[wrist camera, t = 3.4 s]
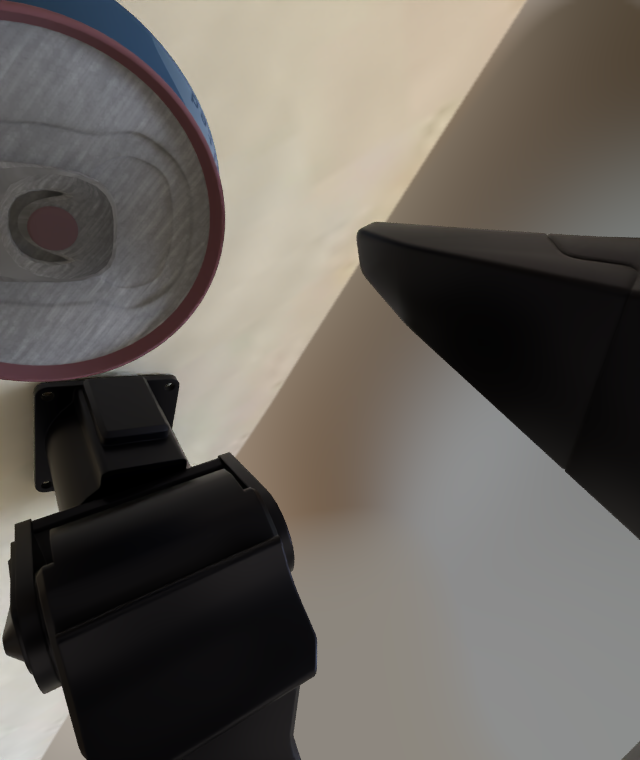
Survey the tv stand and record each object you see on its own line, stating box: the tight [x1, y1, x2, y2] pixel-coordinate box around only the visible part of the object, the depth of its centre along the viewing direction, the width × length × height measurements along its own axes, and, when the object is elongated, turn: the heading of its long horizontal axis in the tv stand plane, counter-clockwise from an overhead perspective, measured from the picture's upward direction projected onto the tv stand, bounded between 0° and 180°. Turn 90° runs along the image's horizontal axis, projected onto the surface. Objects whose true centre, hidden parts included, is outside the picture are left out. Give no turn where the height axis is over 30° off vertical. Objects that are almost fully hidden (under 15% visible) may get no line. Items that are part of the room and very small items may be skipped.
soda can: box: [0, 0, 225, 382], centre depth 11 cm, size 7×7×12 cm
